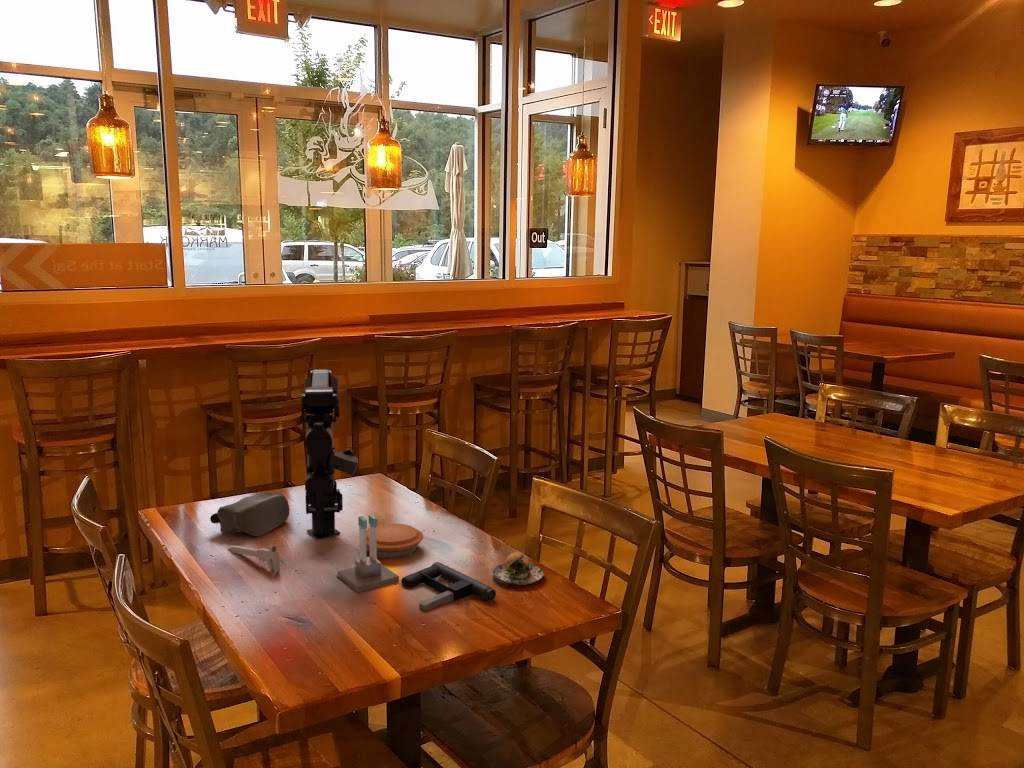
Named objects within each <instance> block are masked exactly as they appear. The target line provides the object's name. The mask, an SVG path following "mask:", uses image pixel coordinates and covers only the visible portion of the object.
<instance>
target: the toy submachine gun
mask: <svg viewBox="0 0 1024 768" xmlns="http://www.w3.org/2000/svg"><path fill="white" fill-rule="evenodd" d="M441 579H442V580H444V581H445V582H447V583H449V585H446V584H444V583H442V582H440V581H439V580H441ZM400 582H401V585H402V586H403V587H404V588H407V589H413V588H414V587H417V586H419V585H422V584H423V585H425V586H427V587H429V588H430V589H433V590H434V591H436V592H438V593H439V594H437V595H435V596H432V597H429V598H427V599H425V600H423V601H421V602H418V605H419V606H418V608H419V609H420V610H422V611H427V610H430V609H434V608H436V607H438V606H441V605H444V604H446V603H450V602H452V601H460V600H462V599H465V598H467V597H469V596H476V597H477V598H479V599H481V600H484V601H488V602H492V601H494V600H495V598H496V596H497V592H496V589H493V588H492V587H491V586H489V585H488V584H485V583H483V582H481V581H479V580H476V579H475V578H472V577H470V576H468V575H466V574H464V573H462V572H460V571H458V570H456V569H454V568H452V567H450V565H445V564H443V563H442V562H438V561H436V562H433V563H432V565H431V566H428V567H426V568H423V569H421V570H418V571H415V572H414V573H411V574H410V573H409V574H408V575H405V576H404V577H402V578H401V580H400Z"/></svg>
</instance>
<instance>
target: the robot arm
mask: <svg viewBox="0 0 1024 768" xmlns="http://www.w3.org/2000/svg"><path fill="white" fill-rule="evenodd" d="M337 418H340V399H339V379H337V377H335V376H334V375H333V374H332V370H329V369H313V370H310V375H309V376H308V377H307V378H305V380H304V393H303V394H301V423H302V424H306V434H305V440H304V444H305V447H306V456H307V466H306V467H307V469H306V470H307V471H306V472H307V474H308V475H307V476H306V477H305V480H304V490H305V513H306V515H308V514H311V529H307V530H306V533H307V534H309V535H310V536H312V537H313V538H315V539H316V540H320V539H325V538H329V537H335V536H339V535H341V531H340V530H338V529H336V518H335V517H336V515H335V513H341V511H343V507H344V506H343V501H344V500H343V493H341V490H340V488H338V484H337V480H336V479H335V476H334V474H335V470H337V471H340V472H343V473H346V474H347V475H351V476H354V475H355V472H356V470H357V467H358V465H359V459H358V457H357V456H354V452H353V449H350V448H348V447H347V448H345V449H344V450H343V451H335V445H334V435H333V432H334V431H333V429H334V428H333V425H334V424H333V423H337Z"/></svg>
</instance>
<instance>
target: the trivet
mask: <svg viewBox="0 0 1024 768" xmlns="http://www.w3.org/2000/svg"><path fill="white" fill-rule="evenodd" d="M336 573H337V577H338V579H340V580H342V581H343V582H344V583H346V584H347V585H348V586H349V587H351V588H352V589H353V590H354V591H355V592H358V593H361V592H364V591H368V590H371V589H376V588H378V587H383V586H387V585H390V584H393V583H397V582H400V576H399V575H398V574H396V573H395V572H393V571H392V570H391V569H389V568H388V567H386V566H385V565H383V564H381V576H376V577H371V578H366V579H362V578H361V577H360V576H359V575H358V574H357V573H356V572H355V566H354V567H350V568H345V569H342V570H338V571H337V572H336Z"/></svg>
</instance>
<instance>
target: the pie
mask: <svg viewBox="0 0 1024 768" xmlns="http://www.w3.org/2000/svg"><path fill="white" fill-rule="evenodd" d="M376 530H377V558H380V559H389V558H390V559H399V558H404V557H407V556H410V555H412V554H413V552H415V550H416V549H417V547H418V546H419V544H420V543H421V542H422V541H423V540H424V534H423V532H422V531H421V530H419V529H417V528H415V527H413V526H412V525H408V524H405V523H383V524H382V523H381V524H379V525H378V524H377V527H376ZM366 551H368V553H369V554H370V531H369V528H367V529H366Z"/></svg>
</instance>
